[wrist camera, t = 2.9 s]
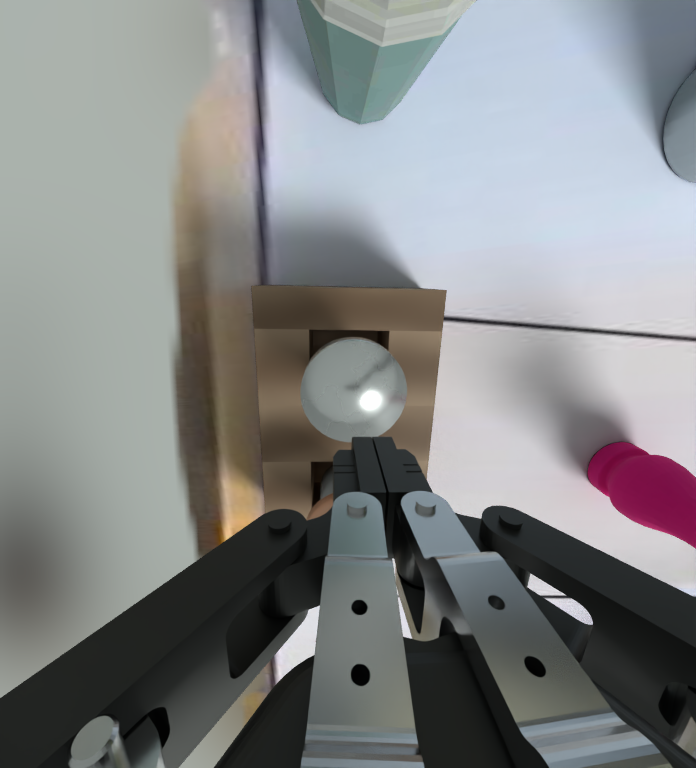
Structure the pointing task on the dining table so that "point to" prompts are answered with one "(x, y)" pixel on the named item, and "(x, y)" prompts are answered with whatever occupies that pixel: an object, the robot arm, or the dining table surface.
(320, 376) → the steel plunger
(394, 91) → the disposable coffee cup
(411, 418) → the button panel
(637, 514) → the pepper mill
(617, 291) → the dining table surface
